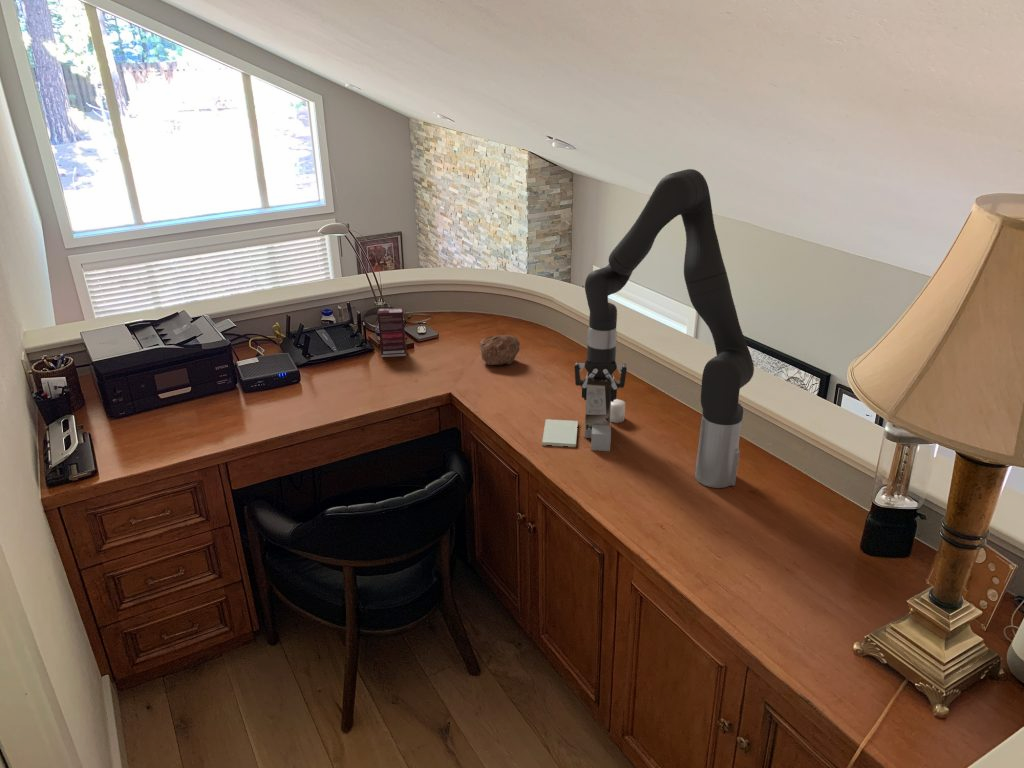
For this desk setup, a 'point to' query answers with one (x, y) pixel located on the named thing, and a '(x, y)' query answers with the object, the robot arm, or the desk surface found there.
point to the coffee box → (597, 404)
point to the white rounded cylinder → (617, 411)
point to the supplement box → (392, 332)
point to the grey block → (601, 437)
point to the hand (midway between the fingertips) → (598, 399)
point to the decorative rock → (499, 349)
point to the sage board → (560, 433)
